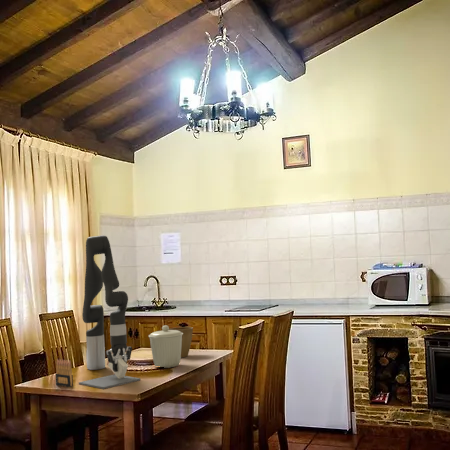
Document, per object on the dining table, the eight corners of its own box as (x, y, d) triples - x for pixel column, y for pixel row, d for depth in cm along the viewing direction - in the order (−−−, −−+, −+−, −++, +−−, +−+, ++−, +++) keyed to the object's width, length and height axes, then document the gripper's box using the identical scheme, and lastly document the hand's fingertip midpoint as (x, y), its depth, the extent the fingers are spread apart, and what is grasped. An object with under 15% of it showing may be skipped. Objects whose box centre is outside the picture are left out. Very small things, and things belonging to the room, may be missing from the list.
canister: (179, 369, 275) (177, 327, 276) (144, 370, 278) (142, 328, 280) (188, 362, 292) (186, 322, 294) (156, 363, 296) (154, 323, 297)
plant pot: (196, 357, 308) (194, 328, 309) (170, 359, 305) (168, 330, 306) (192, 353, 323) (190, 325, 324) (166, 355, 319) (165, 328, 320)
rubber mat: (78, 384, 253) (78, 382, 253) (115, 375, 268) (115, 374, 268) (103, 389, 240) (103, 387, 240) (140, 380, 254) (140, 378, 254)
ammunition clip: (73, 386, 249) (72, 359, 250) (69, 387, 248) (68, 360, 249) (59, 384, 256) (58, 358, 257) (55, 385, 254) (54, 358, 255)
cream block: (122, 366, 254) (110, 352, 261) (118, 378, 256) (106, 364, 263) (128, 365, 256) (115, 351, 263) (124, 377, 258) (112, 363, 265)
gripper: (110, 336, 252) (111, 374, 250) (135, 332, 262) (137, 368, 261) (100, 335, 257) (102, 372, 256) (126, 331, 267) (127, 367, 266)
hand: (119, 370), depth 258 cm, fingers open, 4 cm apart
